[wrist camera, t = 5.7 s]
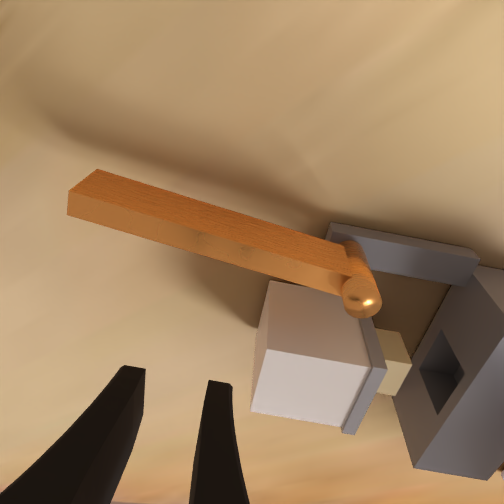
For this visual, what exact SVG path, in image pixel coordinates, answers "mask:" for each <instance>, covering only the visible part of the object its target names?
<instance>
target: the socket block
mask: <svg viewBox="0 0 504 504" xmlns="http://www.w3.org/2000/svg"><path fill="white" fill-rule="evenodd" d="M325 240H327V241H330V242H333V243H336V244H339V243H340V242H343V241H346V240H353V241H356V242H358V243H359V244H360V245H361V246H362V248H363V250H364V252H365V255H366V258H367V260H368V263H369V266H370V268H371V270H376V271H381V272H387V273H392V274H397V275H403V276H408V277H413V278H419V279H424V280H429V281H435V282H440V283H445V284H451V285H452V286H451V288H450V289H449V291H448V293H447V295H446V297H445V299H444V300H443V302H442V304H441V306H440V308H439V310H438V311H437V313H436V315H435V317H434V319H433V321H432V322H431V324H430V326H429V328H428V330H427V332H426V334H425V335H424V337H423V339H422V341H421V343H420V345H419V346H418V348H417V350H416V352H415V354H414V356H413V357H412V359H411V362H412V366H411V368H410V370H409V372H408V374H407V375H406V377H405V379H404V381H403V383H402V385H401V386H400V388H399V390H398V392H397V394H396V395H395V396H392V398H393V402H394V405H395V408H396V412H397V415H398V418H399V422H400V425H401V428H402V432H403V435H404V438H405V442H406V445H407V448H408V452H409V455H410V458H411V462H412V465H413V468H416V469H422V470H428V471H433V472H439V473H445V474H451V475H457V476H463V477H468V478H474V479H480V480H486V481H487V480H488V479H489V478H490V477H491V476H492V475H493V473H494V472H495V471H496V470H497V469H498V468H499V467H500V466H501V464H502V463H503V462H504V270H501V269H495V268H490V267H485V266H480V265H478V263H479V262H480V260H481V259H480V258H479V257H478V256H477V255H476V253H475V252H474V251H473V250H472V249H470V248H465V247H459V246H454V245H449V244H444V243H439V242H433V241H428V240H423V239H418V238H412V237H407V236H402V235H397V234H392V233H386V232H381V231H376V230H371V229H366V228H360V227H355V226H350V225H345V224H339V223H334V222H330V225H329V228H328V231H327V234H326V238H325Z"/></svg>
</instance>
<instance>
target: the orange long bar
mask: <svg viewBox="0 0 504 504" xmlns="http://www.w3.org/2000/svg"><path fill="white" fill-rule="evenodd" d="M67 215H69V216H73V217H76V218H79V219H83V220H86V221H89V222H93V223H96V224H99V225H103V226H106V227H109V228H113V229H116V230H120V231H123V232H126V233H130V234H133V235H136V236H140V237H143V238H146V239H150V240H153V241H156V242H160V243H163V244H166V245H170V246H173V247H177V248H180V249H183V250H187V251H190V252H193V253H197V254H200V255H203V256H207V257H210V258H213V259H217V260H220V261H223V262H227V263H230V264H234V265H237V266H240V267H244V268H247V269H250V270H254V271H257V272H260V273H264V274H267V275H270V276H274V277H277V278H280V279H284V280H287V281H291V282H294V283H297V284H301V285H304V286H307V287H311V288H314V289H317V290H321V291H324V292H327V293H331V294H334V295H337V296H341V297H342V300H343V304H344V309H345V311H346V312H347V313H348V314H349V315H350V316H352V317H354V318H360V319H363V318H368V317H371V316H373V315H375V314H376V313H377V312H378V311H379V310H380V308H381V306H382V299H381V296H380V293H379V291H378V288H377V285H376V282H375V279H374V277H373V274H372V271H371V268H370V266H369V263H368V260H367V258H366V255H365V252H364V250H363V248H362V246H361V245H360V244H359V243H358V242H356V241H353V240H346V241H343V242H340V243H339V244H336V243H333V242H330V241H327V240H324V239H320V238H317V237H314V236H311V235H308V234H304V233H301V232H298V231H295V230H292V229H288V228H285V227H282V226H279V225H276V224H272V223H269V222H266V221H263V220H259V219H256V218H253V217H250V216H247V215H243V214H240V213H237V212H234V211H231V210H227V209H224V208H221V207H218V206H215V205H211V204H208V203H205V202H202V201H199V200H195V199H192V198H189V197H186V196H183V195H179V194H176V193H173V192H170V191H167V190H163V189H160V188H157V187H154V186H151V185H147V184H144V183H141V182H138V181H134V180H131V179H128V178H125V177H122V176H118V175H115V174H112V173H109V172H106V171H102V170H99V169H96V170H95V171H94V172H92V173H91V174H90V175H89V176H87V177H86V178H85V179H83V180H82V181H81V182H80V183H78V184H77V185H76V186H74V187H73V188H72V189H70V190H69V194H68V208H67Z"/></svg>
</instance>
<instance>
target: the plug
mask: <svg viewBox="0 0 504 504" xmlns="http://www.w3.org/2000/svg"><path fill="white" fill-rule="evenodd" d="M411 366H412V362H411V360H410V357H409V355H408V352H407V350H406V347H405V344H404V342H403V339H402V337H401V334H400V332H395V331H389V330H384V329H378V328H375V327H374V324H373V320H372V317H368V318H363V319H360V318H354V317H352V316H350V315H349V314H348V313H347V312H346V311H345V309H344V304H343V300H342V297H341V296H337V295H334V294H331V293H327V292H324V291H321V290H317V289H314V288H309V287H304V286H299V285H293V284H288V283H282V282H277V281H272V280H270V282H269V286H268V290H267V294H266V298H265V302H264V306H263V310H262V314H261V318H260V322H259V326H258V330H257V334H256V342H255V355H254V367H253V379H252V392H251V404H250V411H251V412H257V413H263V414H268V415H274V416H280V417H286V418H291V419H297V420H303V421H309V422H314V423H320V424H326V425H332V426H338V427H341V430H342V433H345V434H351V435H355V433H356V431H357V429H358V427H359V425H360V423H361V421H362V419H363V417H364V416H365V414H366V412H367V410H368V408H369V406H370V404H371V402H372V400H373V398H374V396H375V394H376V393H381V394H387V395H392V396H395V395H396V394H397V392H398V390H399V388H400V386H401V385H402V383H403V381H404V379H405V377H406V375H407V374H408V372H409V370H410V368H411Z"/></svg>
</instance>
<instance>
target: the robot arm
mask: <svg viewBox="0 0 504 504" xmlns="http://www.w3.org/2000/svg"><path fill="white" fill-rule="evenodd" d="M145 372H146V369H144V368H138V367H132V366H127V365H124V366H122V367H121V368H120V369H119V370H118V372H117V373H116V374H115V376H114V377H113V378H112V380H111V381H110V382H109V383H108V385H107V386H106V387H105V388H104V389H103V391H102V392H101V393H100V394H99V395H98V397H97V398H96V399H95V400H94V401H93V402H92V404H91V405H90V406H89V407H88V408H87V409H86V410H85V411H84V412H83V414H82V415H81V416H80V417H79V418H78V419H77V420H76V421H75V422H74V423H73V424H72V426H71V427H70V428H69V429H68V430H67V431H66V432H65V433H64V434H63V435H62V436H61V437H60V438H59V439H58V440H57V441H56V442H55V443H54V444H53V445H52V446H51V447H50V448H49V449H48V450H47V451H46V452H45V453H44V454H43V455H42V456H41V457H40V458H39V459H38V460H37V461H36V462H35V463H34V464H33V465H31V466H30V467H29V468H28V469H27V470H26V471H25V472H24V473H23V474H22V475H21V476H20V477H18V478H17V479H16V480H15V481H14V482H13V483H12V484H11V485H9V486H8V487H7V488H6V489H5V490H4V491H3V492H2V493H1V494H0V504H110V503H111V500H112V498H113V495H114V493H115V491H116V488H117V486H118V484H119V481H120V479H121V476H122V474H123V471H124V469H125V467H126V464H127V462H128V459H129V457H130V454H131V452H132V449H133V446H134V443H135V440H136V436H137V433H138V430H139V427H140V423H141V420H142V417H143V409H144V390H145ZM232 389H233V387H232V386H231V385H230V384H229V383H223V382H218V381H212V380H209V381H208V386H207V391H206V395H205V400H204V405H203V411H202V416H201V422H200V428H199V434H198V439H197V445H196V451H195V457H194V463H193V472H192V481H191V489H190V498H189V504H250V503H249V499H248V495H247V491H246V486H245V482H244V478H243V473H242V468H241V464H240V458H239V452H238V447H237V441H236V435H235V427H234V418H233V405H232ZM501 476H502V478H503V480H504V470H503V471H502V473H501Z"/></svg>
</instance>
